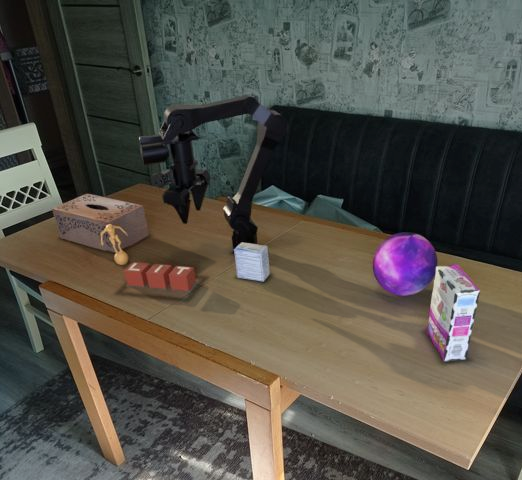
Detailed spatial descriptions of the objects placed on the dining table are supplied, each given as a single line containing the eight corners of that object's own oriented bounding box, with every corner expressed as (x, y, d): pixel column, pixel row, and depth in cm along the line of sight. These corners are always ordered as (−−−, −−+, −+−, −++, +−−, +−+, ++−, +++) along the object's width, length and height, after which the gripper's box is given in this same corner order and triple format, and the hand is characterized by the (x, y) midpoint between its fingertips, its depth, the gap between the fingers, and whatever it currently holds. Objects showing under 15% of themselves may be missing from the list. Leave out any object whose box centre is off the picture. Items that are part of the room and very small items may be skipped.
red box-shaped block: (174, 280, 144) (171, 264, 141) (166, 289, 140) (163, 273, 138) (157, 278, 145) (154, 263, 143) (149, 287, 142) (145, 272, 139)
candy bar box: (467, 360, 109) (481, 290, 99) (443, 362, 109) (455, 293, 99) (447, 329, 118) (458, 262, 108) (425, 332, 118) (434, 265, 108)
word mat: (204, 277, 145) (204, 276, 145) (187, 300, 136) (187, 298, 135) (139, 271, 150) (139, 270, 150) (118, 293, 141) (117, 291, 141)
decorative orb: (431, 310, 124) (440, 251, 116) (367, 304, 129) (370, 247, 120) (434, 279, 136) (442, 223, 127) (375, 274, 140) (378, 220, 131)
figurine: (113, 271, 152) (103, 232, 145) (103, 265, 155) (93, 226, 148) (138, 261, 156) (130, 222, 149) (128, 255, 160) (119, 217, 152)
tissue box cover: (149, 235, 170) (142, 205, 164) (115, 253, 161) (108, 222, 155) (94, 221, 183) (86, 193, 177) (60, 238, 173) (51, 208, 167)
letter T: (196, 282, 142) (193, 266, 140) (188, 291, 138) (186, 275, 136) (179, 280, 144) (176, 265, 141) (171, 289, 140) (168, 274, 137)
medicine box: (270, 274, 144) (268, 245, 139) (263, 282, 141) (261, 252, 135) (244, 270, 147) (241, 241, 142) (236, 278, 143) (233, 248, 138)
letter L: (152, 278, 146) (149, 263, 143) (144, 287, 142) (140, 271, 139) (136, 276, 147) (132, 261, 144) (127, 285, 143) (123, 270, 141)
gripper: (169, 147, 146) (179, 202, 156) (138, 170, 132) (150, 229, 142) (207, 148, 143) (214, 204, 153) (179, 171, 129) (188, 231, 138)
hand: (191, 216), depth 146 cm, fingers open, 9 cm apart
